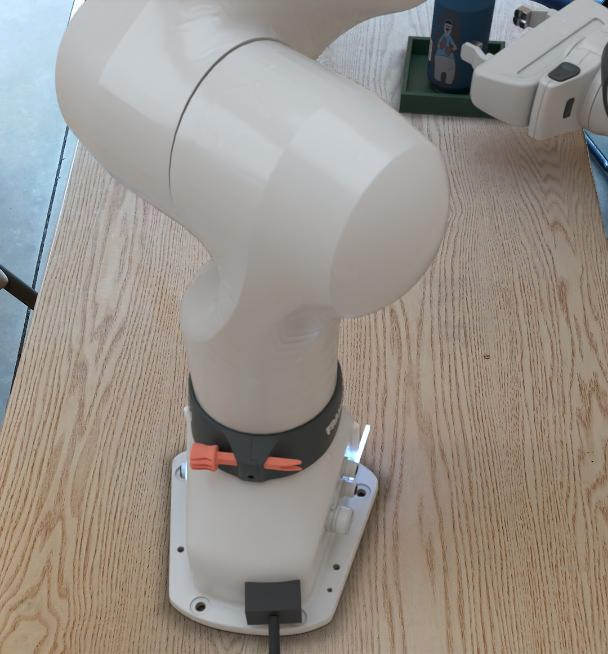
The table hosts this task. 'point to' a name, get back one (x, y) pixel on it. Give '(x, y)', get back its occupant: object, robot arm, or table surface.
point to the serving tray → (420, 91)
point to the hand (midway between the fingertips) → (491, 30)
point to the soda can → (456, 42)
